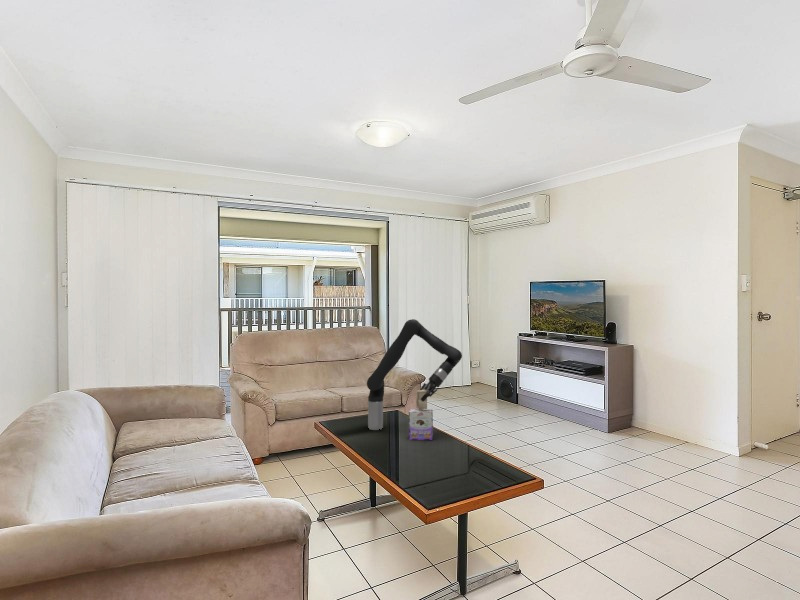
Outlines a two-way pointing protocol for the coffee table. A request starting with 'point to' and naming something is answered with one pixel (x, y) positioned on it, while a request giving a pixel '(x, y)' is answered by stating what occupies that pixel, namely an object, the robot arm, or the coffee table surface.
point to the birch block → (419, 402)
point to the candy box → (420, 424)
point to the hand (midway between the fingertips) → (420, 399)
